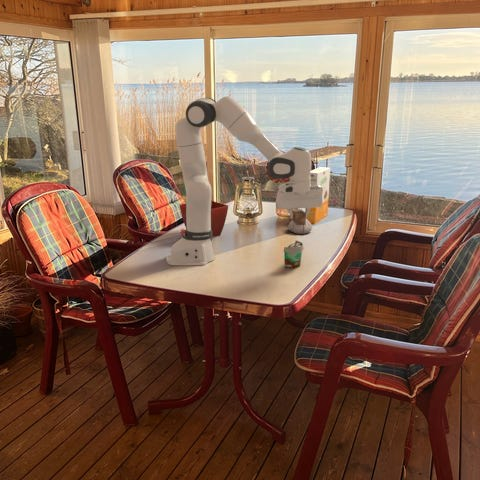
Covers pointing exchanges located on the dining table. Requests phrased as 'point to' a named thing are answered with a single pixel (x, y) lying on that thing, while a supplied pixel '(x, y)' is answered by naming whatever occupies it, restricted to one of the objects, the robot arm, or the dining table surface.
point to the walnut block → (299, 217)
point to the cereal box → (322, 179)
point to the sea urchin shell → (300, 227)
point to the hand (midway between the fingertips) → (298, 217)
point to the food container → (293, 255)
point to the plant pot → (212, 217)
